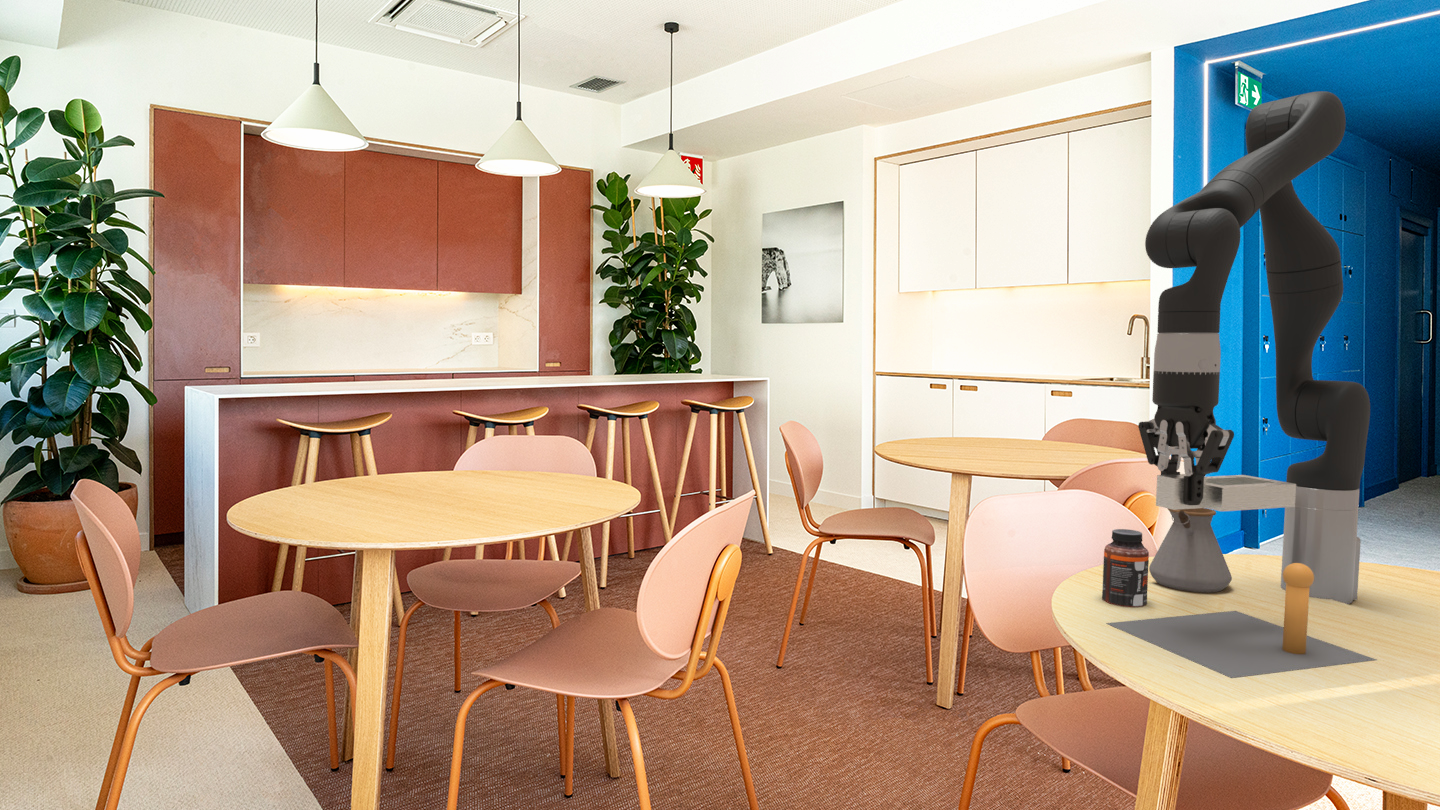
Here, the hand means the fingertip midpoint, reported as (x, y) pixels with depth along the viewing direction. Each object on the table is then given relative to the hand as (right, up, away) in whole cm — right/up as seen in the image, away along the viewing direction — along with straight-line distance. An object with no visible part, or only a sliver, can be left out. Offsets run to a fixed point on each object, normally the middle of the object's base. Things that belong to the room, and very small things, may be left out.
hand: (1180, 501), depth 114 cm
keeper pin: (+11, -19, -6) cm, 22 cm away
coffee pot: (+11, -17, +20) cm, 29 cm away
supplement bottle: (-1, -17, +15) cm, 23 cm away
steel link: (+6, -1, +2) cm, 6 cm away
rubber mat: (+6, -18, -2) cm, 19 cm away
